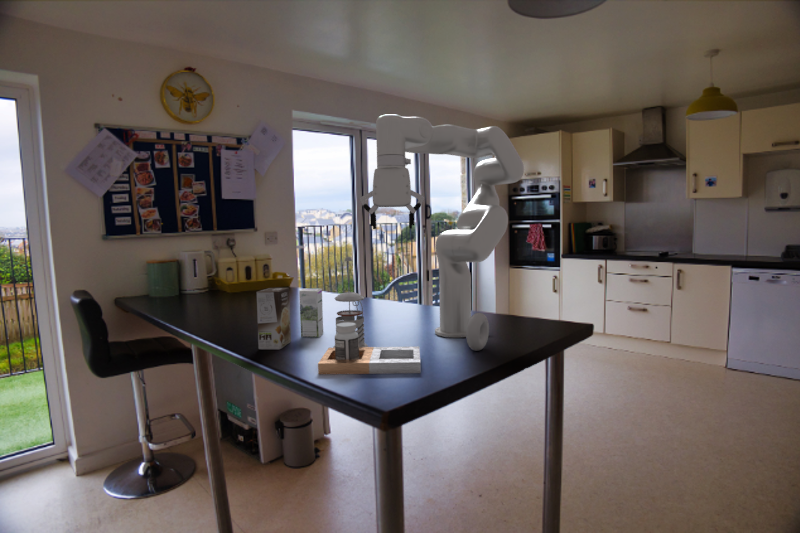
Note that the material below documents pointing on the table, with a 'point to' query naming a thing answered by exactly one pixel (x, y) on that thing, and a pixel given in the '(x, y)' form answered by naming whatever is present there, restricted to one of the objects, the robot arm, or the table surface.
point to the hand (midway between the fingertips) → (392, 228)
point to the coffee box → (273, 318)
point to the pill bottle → (346, 341)
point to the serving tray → (373, 361)
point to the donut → (477, 331)
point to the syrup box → (311, 312)
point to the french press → (352, 311)
